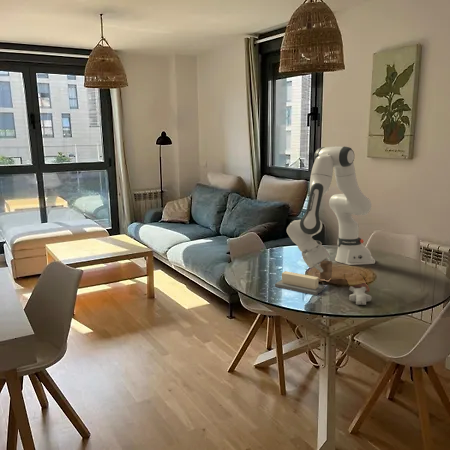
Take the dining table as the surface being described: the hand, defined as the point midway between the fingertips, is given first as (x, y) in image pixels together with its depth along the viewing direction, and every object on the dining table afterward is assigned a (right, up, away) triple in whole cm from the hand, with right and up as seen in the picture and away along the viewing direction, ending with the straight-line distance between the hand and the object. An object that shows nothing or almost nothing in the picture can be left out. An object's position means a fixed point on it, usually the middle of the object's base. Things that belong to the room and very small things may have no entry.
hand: (326, 269), depth 226 cm
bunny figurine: (+9, -12, -25) cm, 29 cm away
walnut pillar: (0, -6, +2) cm, 6 cm away
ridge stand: (-15, -8, -8) cm, 19 cm away
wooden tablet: (+14, -7, -3) cm, 16 cm away
